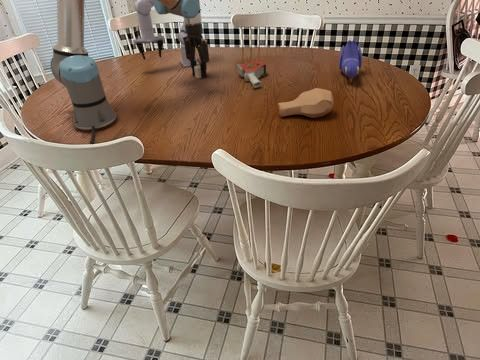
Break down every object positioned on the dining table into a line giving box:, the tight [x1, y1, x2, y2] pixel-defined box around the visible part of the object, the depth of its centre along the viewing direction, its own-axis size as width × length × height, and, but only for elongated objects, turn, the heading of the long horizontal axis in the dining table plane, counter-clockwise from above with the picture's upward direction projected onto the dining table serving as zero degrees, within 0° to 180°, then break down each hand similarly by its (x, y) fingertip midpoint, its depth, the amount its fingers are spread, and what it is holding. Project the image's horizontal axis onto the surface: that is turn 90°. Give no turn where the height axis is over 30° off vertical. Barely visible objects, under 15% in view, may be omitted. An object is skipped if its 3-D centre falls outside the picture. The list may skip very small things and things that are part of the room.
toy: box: [338, 39, 363, 84], centre depth 153 cm, size 10×17×25 cm
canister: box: [194, 64, 203, 79], centre depth 166 cm, size 4×4×5 cm
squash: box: [277, 87, 335, 119], centre depth 127 cm, size 11×20×9 cm, turn 92°
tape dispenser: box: [236, 60, 267, 89], centre depth 159 cm, size 18×5×20 cm
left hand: (199, 75), depth 168 cm, fingers open, 5 cm apart
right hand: (152, 58), depth 173 cm, fingers open, 7 cm apart
